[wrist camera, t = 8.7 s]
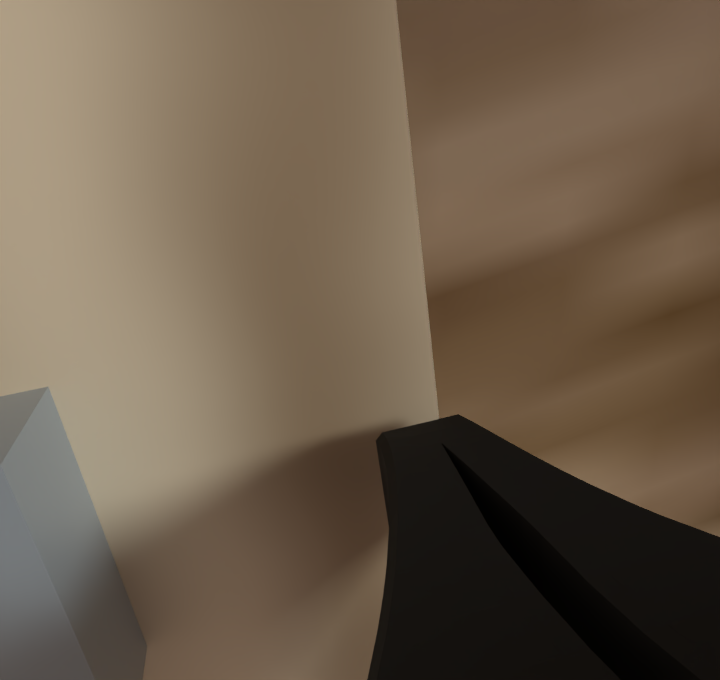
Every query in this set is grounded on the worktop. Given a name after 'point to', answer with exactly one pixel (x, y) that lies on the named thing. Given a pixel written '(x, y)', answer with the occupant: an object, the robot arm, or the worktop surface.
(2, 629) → the slate tile
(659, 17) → the worktop surface
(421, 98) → the worktop surface
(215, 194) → the birch board
